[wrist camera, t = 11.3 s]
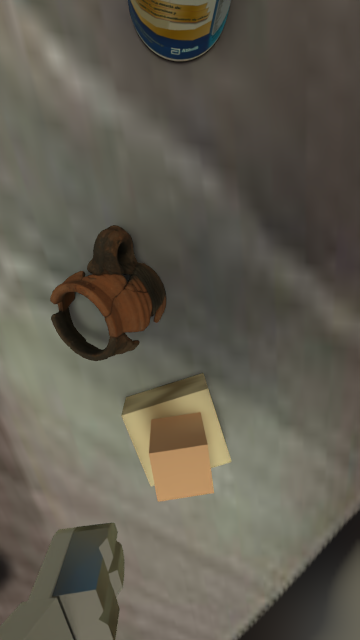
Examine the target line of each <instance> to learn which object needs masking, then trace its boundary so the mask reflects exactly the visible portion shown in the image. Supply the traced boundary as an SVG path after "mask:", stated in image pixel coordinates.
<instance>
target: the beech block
mask: <svg viewBox="0 0 360 640" xmlns="http://www.w3.org/2000/svg"><path fill="white" fill-rule="evenodd" d="M198 412H201V417H202V421H203V426H204V430H205V435H206V439H207V444H208V451H209V459H210V466H211V468H213V467H216V466H219V465H223V464H226V463H229V462H231V458H230V455H229V452H228V449H227V446H226V442H225V439H224V436H223V433H222V430H221V427H220V424H219V420H218V417H217V414H216V411H215V408H214V405H213V402H212V399H211V396H210V393H209V389H208V386H207V383H206V380H205V377H204V374H203V373H202V374H199V375H195V376H192V377H189V378H186V379H183V380H180V381H176V382H173V383H170V384H167V385H164V386H161V387H157V388H154V389H151V390H148V391H145V392H141V393H138V394H135V395H132V396H129V397H126V399H125V403H124V407H123V411H122V415H121V416H122V418H123V421H124V423H125V425H126V428H127V430H128V433H129V435H130V437H131V440H132V442H133V445H134V447H135V449H136V452H137V454H138V456H139V459H140V461H141V464H142V466H143V468H144V471H145V473H146V476H147V478H148V480H149V483H150V485H151V486H154V485H155V484H154V478H153V473H152V468H151V463H150V457H149V444H150V430H151V420H152V419H158V418H165V417H172V416H178V415H185V414H192V413H198Z"/></svg>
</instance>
